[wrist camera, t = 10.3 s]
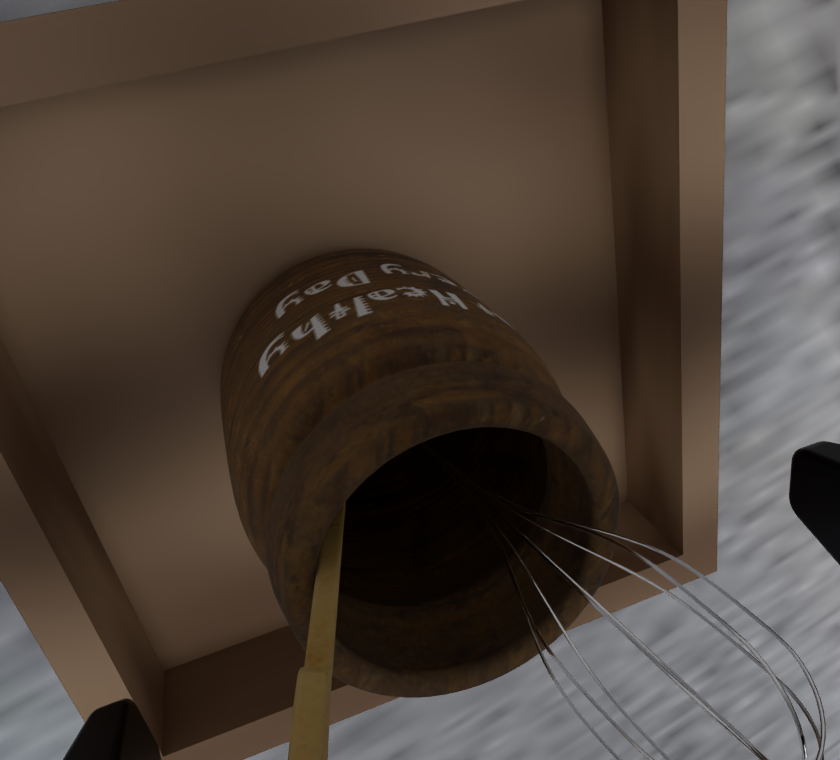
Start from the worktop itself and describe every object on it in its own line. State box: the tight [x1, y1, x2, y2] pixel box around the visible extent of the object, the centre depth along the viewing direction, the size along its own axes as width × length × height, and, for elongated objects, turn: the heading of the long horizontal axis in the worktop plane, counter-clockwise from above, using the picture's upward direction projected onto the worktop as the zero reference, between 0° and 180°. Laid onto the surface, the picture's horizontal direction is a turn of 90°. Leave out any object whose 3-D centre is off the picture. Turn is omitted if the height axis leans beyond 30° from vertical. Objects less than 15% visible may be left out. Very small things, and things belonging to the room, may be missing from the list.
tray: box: [0, 0, 727, 760], centre depth 15 cm, size 15×15×4 cm
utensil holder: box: [220, 249, 826, 760], centre depth 11 cm, size 6×6×12 cm
